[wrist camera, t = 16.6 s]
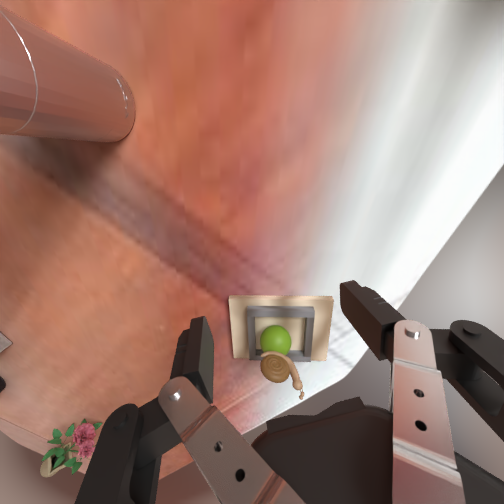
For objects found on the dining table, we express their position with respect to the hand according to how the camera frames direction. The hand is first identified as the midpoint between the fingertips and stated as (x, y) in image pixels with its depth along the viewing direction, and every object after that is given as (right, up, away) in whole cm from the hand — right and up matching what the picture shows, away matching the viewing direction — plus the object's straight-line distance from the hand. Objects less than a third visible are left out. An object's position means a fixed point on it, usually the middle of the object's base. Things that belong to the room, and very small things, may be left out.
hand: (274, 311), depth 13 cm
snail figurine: (+3, -11, +29) cm, 31 cm away
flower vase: (-48, -45, +49) cm, 82 cm away
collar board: (+4, -11, +30) cm, 32 cm away
